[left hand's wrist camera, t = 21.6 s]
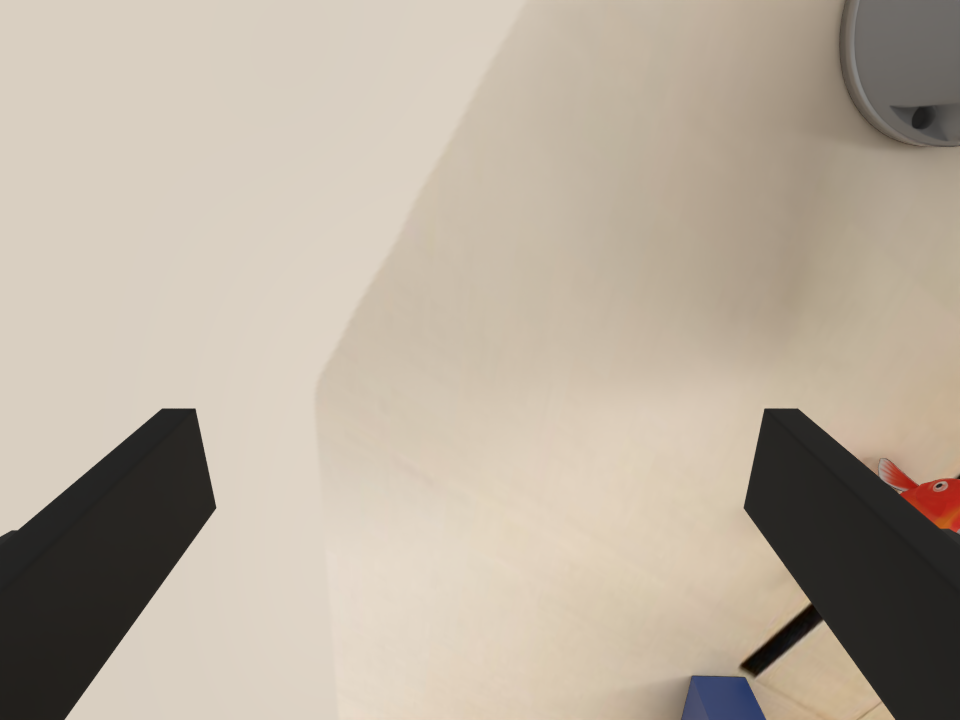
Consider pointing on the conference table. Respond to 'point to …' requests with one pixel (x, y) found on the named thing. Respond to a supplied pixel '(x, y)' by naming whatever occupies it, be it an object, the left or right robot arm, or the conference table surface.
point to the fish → (927, 495)
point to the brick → (721, 700)
